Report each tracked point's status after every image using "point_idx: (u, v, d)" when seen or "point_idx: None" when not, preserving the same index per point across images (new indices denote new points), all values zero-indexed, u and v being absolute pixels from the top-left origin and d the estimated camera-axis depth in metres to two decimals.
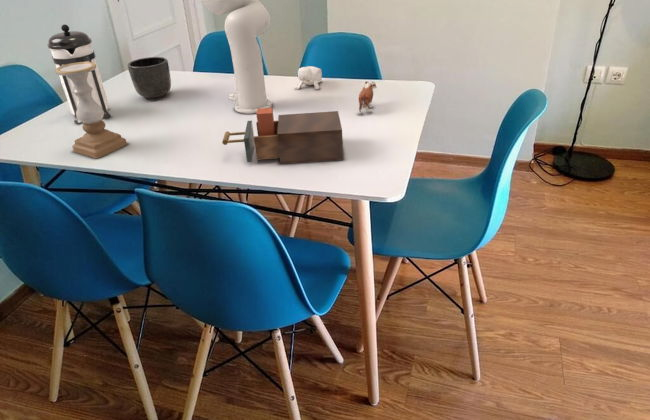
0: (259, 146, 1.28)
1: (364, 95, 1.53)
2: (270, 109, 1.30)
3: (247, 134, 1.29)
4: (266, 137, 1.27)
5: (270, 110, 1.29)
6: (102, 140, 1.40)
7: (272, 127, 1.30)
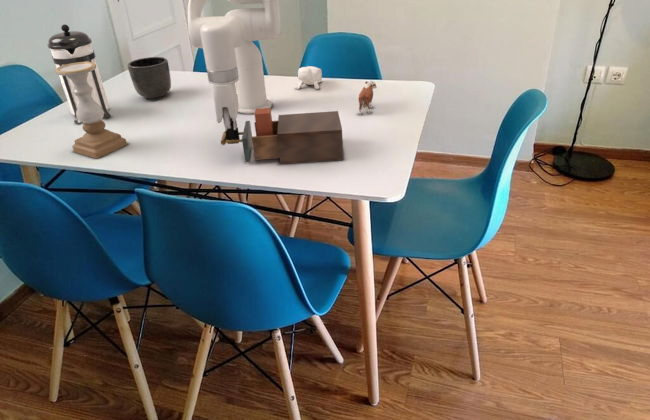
0: (257, 146, 1.28)
1: (364, 95, 1.53)
2: (268, 109, 1.30)
3: (245, 134, 1.29)
4: (264, 137, 1.27)
5: (268, 110, 1.29)
6: (102, 140, 1.40)
7: (270, 127, 1.30)
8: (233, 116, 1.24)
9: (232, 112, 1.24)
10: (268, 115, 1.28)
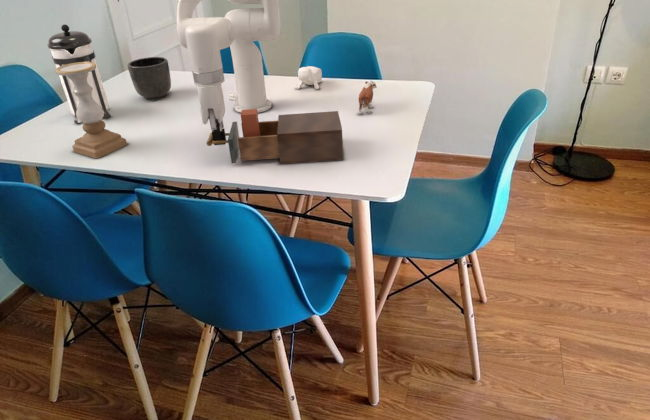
0: (243, 147, 1.28)
1: (364, 95, 1.53)
2: (254, 110, 1.30)
3: (231, 135, 1.28)
4: (250, 138, 1.27)
5: (254, 111, 1.29)
6: (102, 140, 1.40)
7: (256, 128, 1.30)
8: (219, 117, 1.24)
9: (218, 114, 1.24)
10: (254, 116, 1.28)
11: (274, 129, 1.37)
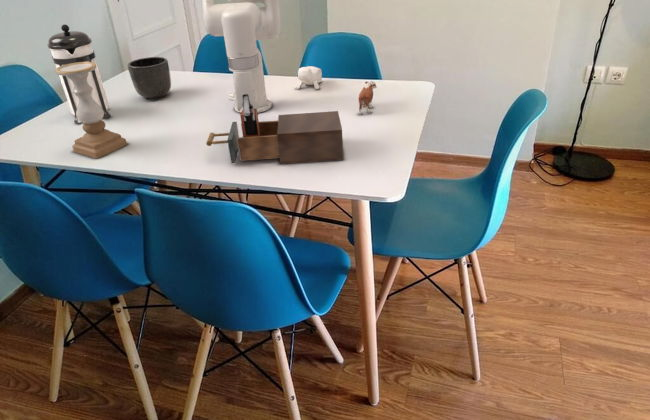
0: (243, 147, 1.28)
1: (364, 95, 1.53)
2: (254, 110, 1.30)
3: (231, 135, 1.28)
4: (250, 138, 1.27)
5: (254, 111, 1.29)
6: (102, 140, 1.40)
7: None
8: (253, 104, 1.23)
9: (252, 100, 1.22)
10: None
11: (274, 129, 1.37)
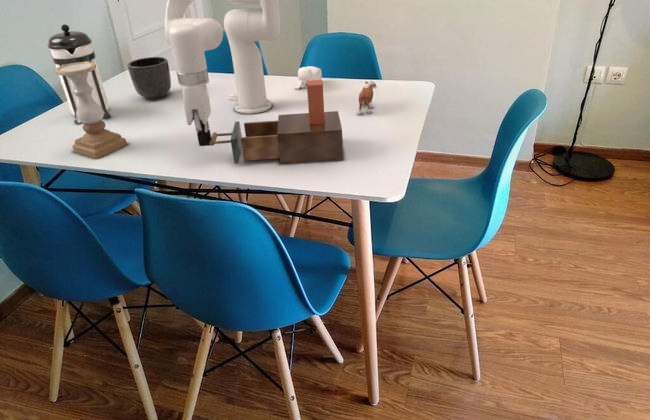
0: (246, 147, 1.28)
1: (364, 95, 1.53)
2: (320, 81, 1.27)
3: (234, 135, 1.28)
4: (253, 138, 1.27)
5: (320, 82, 1.26)
6: (102, 140, 1.40)
7: (322, 99, 1.26)
8: (203, 118, 1.24)
9: (202, 114, 1.24)
10: (321, 87, 1.25)
11: (277, 129, 1.37)
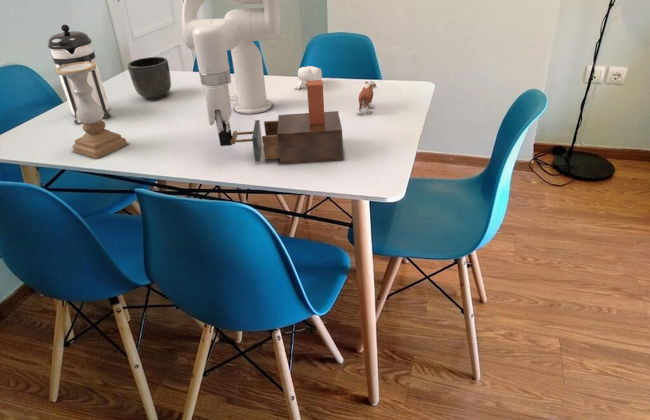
0: (267, 145, 1.28)
1: (364, 95, 1.53)
2: (320, 81, 1.27)
3: (255, 133, 1.29)
4: (274, 136, 1.27)
5: (320, 82, 1.26)
6: (102, 140, 1.40)
7: (322, 99, 1.26)
8: (225, 118, 1.25)
9: (224, 115, 1.24)
10: (321, 87, 1.25)
11: None
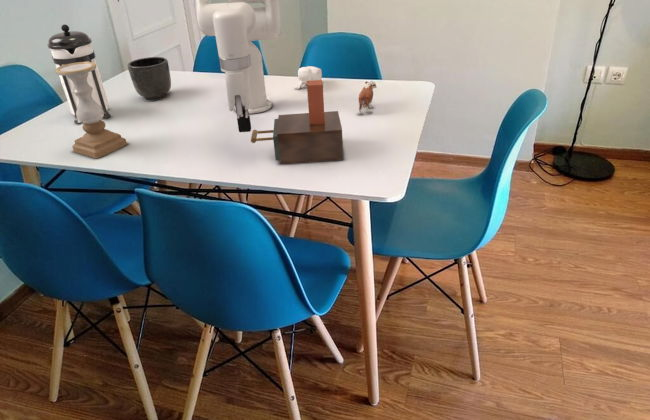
0: None
1: (364, 95, 1.53)
2: (320, 81, 1.27)
3: (276, 132, 1.29)
4: None
5: (320, 82, 1.26)
6: (102, 140, 1.40)
7: (322, 99, 1.26)
8: (245, 104, 1.23)
9: (244, 100, 1.23)
10: (321, 87, 1.25)
11: None
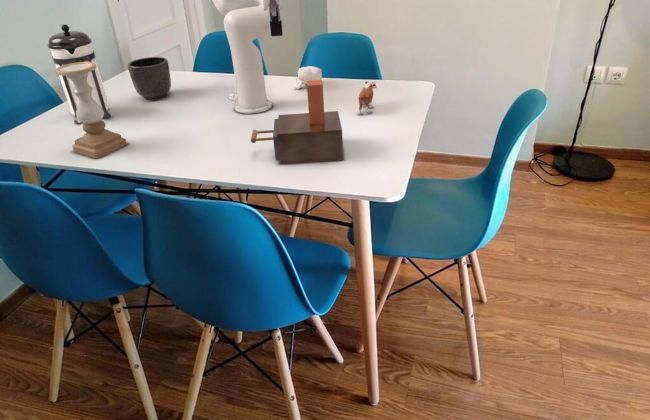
0: None
1: (364, 95, 1.53)
2: (320, 81, 1.27)
3: (276, 132, 1.29)
4: None
5: (320, 82, 1.26)
6: (102, 140, 1.40)
7: (322, 99, 1.26)
8: (279, 3, 1.30)
9: None
10: (321, 87, 1.25)
11: None
